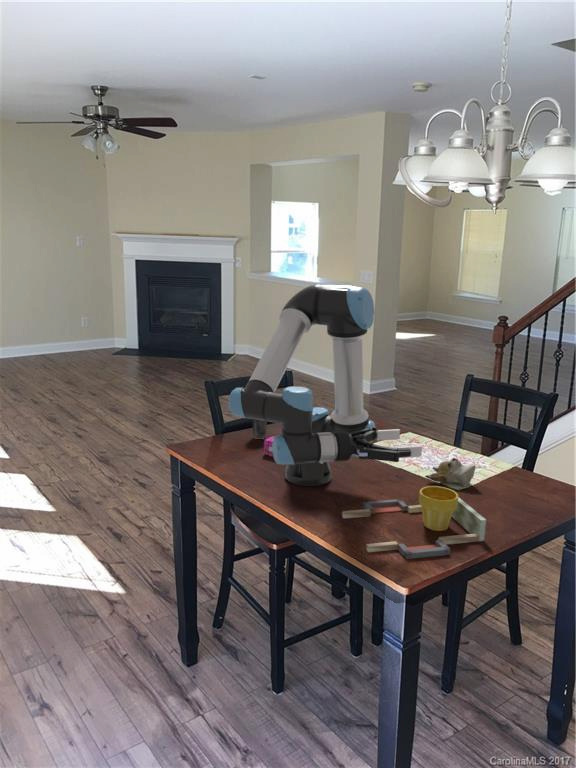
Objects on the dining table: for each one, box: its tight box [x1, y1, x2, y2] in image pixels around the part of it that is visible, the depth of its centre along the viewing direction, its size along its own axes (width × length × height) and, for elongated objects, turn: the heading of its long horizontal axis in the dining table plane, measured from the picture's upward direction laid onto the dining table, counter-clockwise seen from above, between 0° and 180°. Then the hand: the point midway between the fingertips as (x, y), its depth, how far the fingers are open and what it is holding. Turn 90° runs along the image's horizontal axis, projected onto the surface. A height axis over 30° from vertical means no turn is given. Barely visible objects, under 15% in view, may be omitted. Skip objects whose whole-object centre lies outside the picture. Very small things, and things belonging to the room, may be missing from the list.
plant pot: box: [418, 485, 459, 532], centre depth 170 cm, size 10×10×10 cm
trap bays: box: [362, 498, 451, 560], centre depth 168 cm, size 31×12×2 cm, turn 13°
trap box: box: [341, 496, 487, 553], centre depth 168 cm, size 21×32×6 cm, turn 103°
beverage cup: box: [252, 419, 268, 438], centre depth 239 cm, size 7×7×20 cm
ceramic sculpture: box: [424, 457, 476, 487], centre depth 201 cm, size 11×9×15 cm
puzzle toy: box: [263, 436, 275, 455], centre depth 223 cm, size 6×6×6 cm
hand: (409, 442), depth 163 cm, fingers open, 13 cm apart
